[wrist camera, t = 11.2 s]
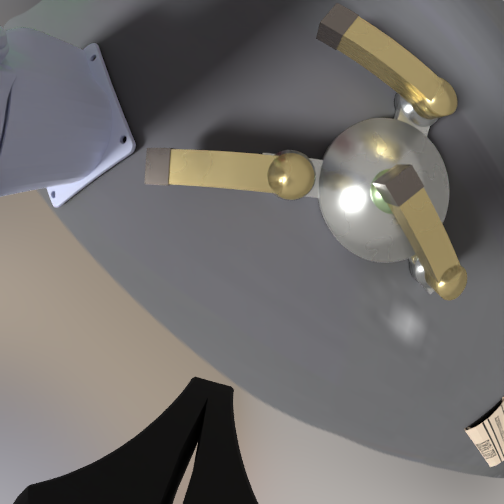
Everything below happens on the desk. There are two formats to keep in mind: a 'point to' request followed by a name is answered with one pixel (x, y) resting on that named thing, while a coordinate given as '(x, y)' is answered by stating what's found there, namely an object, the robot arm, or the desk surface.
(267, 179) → the lever
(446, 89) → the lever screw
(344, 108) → the desk surface
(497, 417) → the newspaper
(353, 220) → the base
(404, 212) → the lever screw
